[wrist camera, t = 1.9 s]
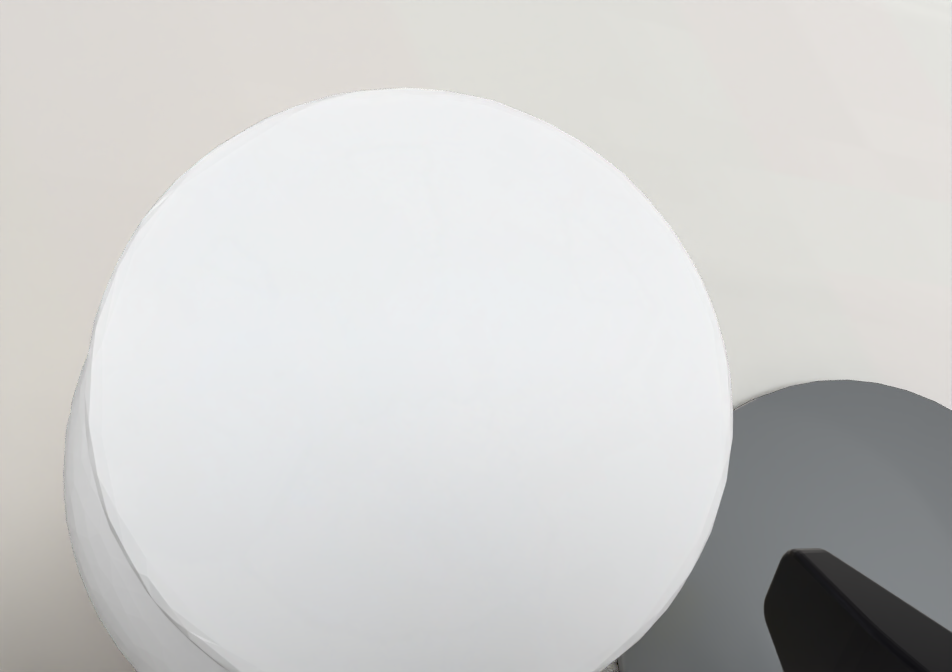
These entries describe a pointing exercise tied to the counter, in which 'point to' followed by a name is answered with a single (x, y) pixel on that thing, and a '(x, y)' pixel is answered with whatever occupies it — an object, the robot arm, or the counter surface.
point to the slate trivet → (814, 517)
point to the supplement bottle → (396, 402)
